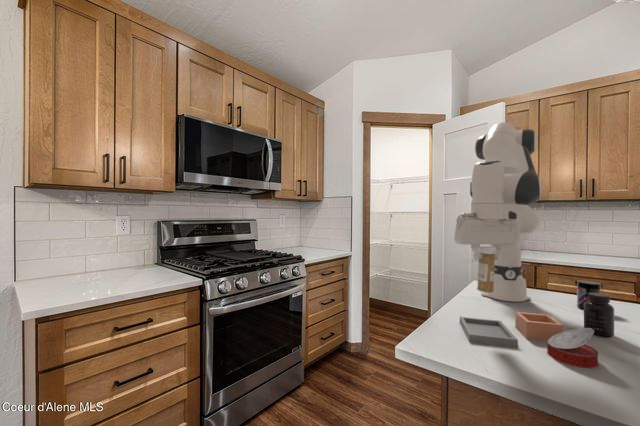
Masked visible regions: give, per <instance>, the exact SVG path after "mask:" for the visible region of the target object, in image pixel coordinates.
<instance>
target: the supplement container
mask: <svg viewBox="0 0 640 426" xmlns="http://www.w3.org/2000/svg"><path fill="white" fill-rule="evenodd" d="M576 284H577V285H576V306H577V308H578V309H580V310H583V311H584V303H585V302H587V301H589V299H588V293H601V289H602V287H601V286H602V284H601V283H600V282H596V281H593V280H584V279H583V280H582V279H581V280H577V283H576Z"/></svg>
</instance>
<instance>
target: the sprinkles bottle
mask: <svg viewBox="0 0 640 426" xmlns="http://www.w3.org/2000/svg"><path fill="white" fill-rule="evenodd" d="M478 249H479V252H480V254H483V256H482V257H483V259H482V260H478V262H477V263H478V264H477V265H478V266H477V286H476V287H477V288H476V290H477V291H479V292H481V291H482V292H487V293H491V292H494V269H495V265H494V264H495V254H496V248H495V247H491V245H480V248H478Z"/></svg>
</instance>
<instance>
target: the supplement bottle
mask: <svg viewBox="0 0 640 426" xmlns="http://www.w3.org/2000/svg"><path fill="white" fill-rule="evenodd" d="M588 299H589V301H587V302H585V303H584V310H583V328H592V329H593V330H594V333H593V335H592V336H595V337H600V338H606V339H607V338H613V337H614V336H615V308H614V306H613V305H612V304H610V302H611V300H610V296H609V294H605V293H601V292H600V293H588Z"/></svg>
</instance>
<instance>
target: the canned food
mask: <svg viewBox="0 0 640 426" xmlns="http://www.w3.org/2000/svg"><path fill="white" fill-rule="evenodd" d="M593 333H594V330H593V329H592V328H584V327H582V328H574V329H571V330H565V331H563V332H562V333H558V334H556V335H554V336H552V337H551V338H549V339H548V341H546V342H547V343H546V344H547V346H546V347H547V348H546V353H547V355H548V356H549V357H550V358H552V359H554V360H556V361H558V362H560V363H562V364H563V363H564V364H566V365H569V366H572V367H577V368H584V369H593V368H598V366H599V352H598V350H597V349H595V348H594V347H592V346H590V345H588V342H590V341H591V340H592V336H594V335H593Z"/></svg>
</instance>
